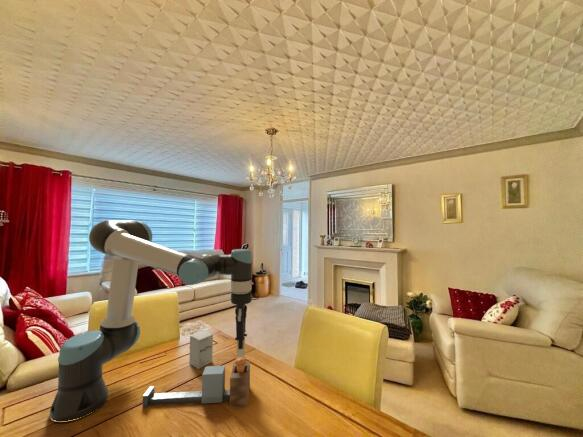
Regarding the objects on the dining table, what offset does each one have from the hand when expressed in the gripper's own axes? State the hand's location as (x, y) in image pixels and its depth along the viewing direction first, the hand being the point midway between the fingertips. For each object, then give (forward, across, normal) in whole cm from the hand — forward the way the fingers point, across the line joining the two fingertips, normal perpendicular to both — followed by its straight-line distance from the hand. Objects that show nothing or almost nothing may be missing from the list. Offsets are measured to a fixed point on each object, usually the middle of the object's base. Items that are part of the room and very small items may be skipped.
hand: (240, 356), depth 90 cm
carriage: (+15, 0, +10) cm, 18 cm away
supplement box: (+15, +24, +21) cm, 35 cm away
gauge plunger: (+8, 0, 0) cm, 8 cm away
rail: (+15, 0, +18) cm, 23 cm away
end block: (+15, 0, 0) cm, 15 cm away
